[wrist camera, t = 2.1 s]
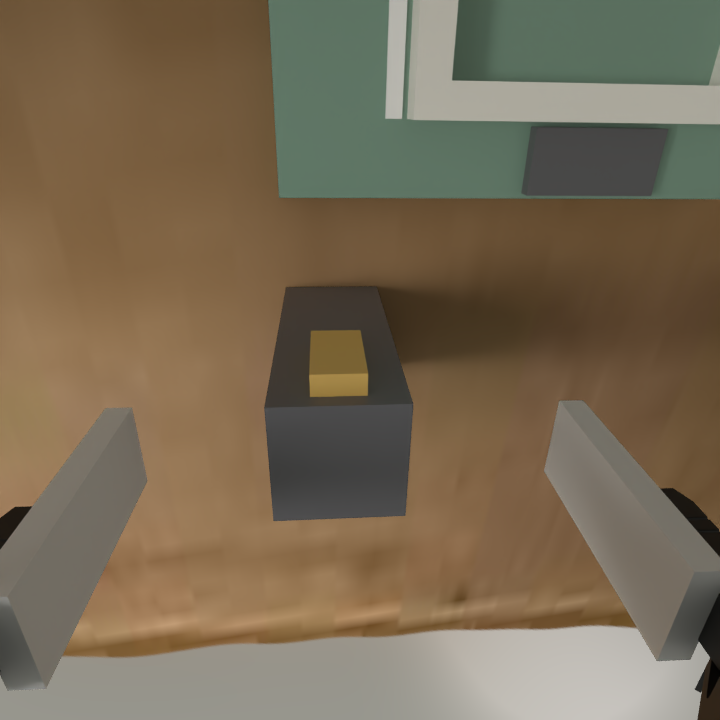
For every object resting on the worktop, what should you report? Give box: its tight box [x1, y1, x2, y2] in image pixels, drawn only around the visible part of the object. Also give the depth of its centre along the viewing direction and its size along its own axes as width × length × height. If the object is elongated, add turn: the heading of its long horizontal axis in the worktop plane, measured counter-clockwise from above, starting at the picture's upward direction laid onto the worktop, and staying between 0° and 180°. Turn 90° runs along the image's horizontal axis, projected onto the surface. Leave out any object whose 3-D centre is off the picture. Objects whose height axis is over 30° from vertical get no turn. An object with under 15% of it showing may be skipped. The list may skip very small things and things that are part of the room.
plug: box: [264, 286, 413, 521], centre depth 19 cm, size 4×5×10 cm
